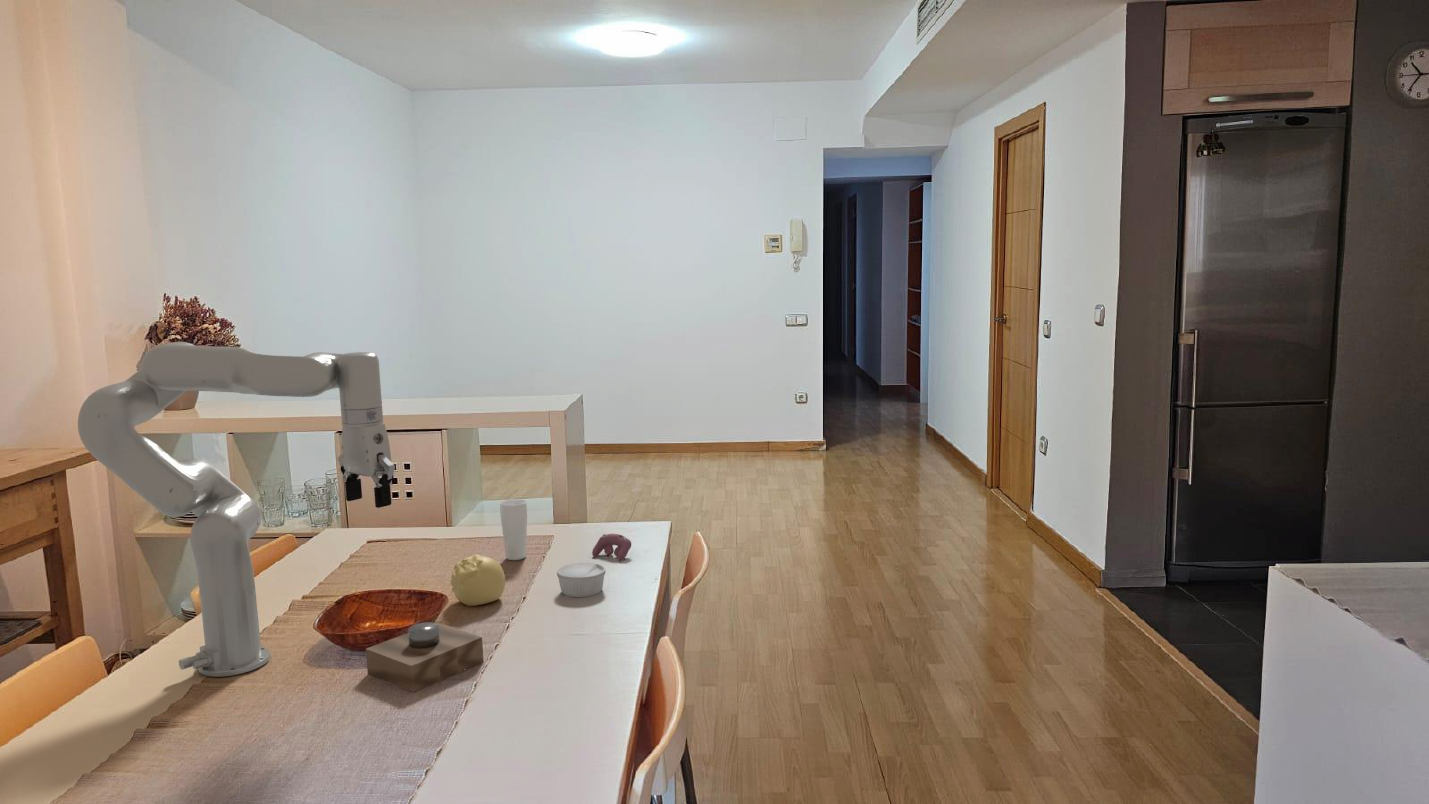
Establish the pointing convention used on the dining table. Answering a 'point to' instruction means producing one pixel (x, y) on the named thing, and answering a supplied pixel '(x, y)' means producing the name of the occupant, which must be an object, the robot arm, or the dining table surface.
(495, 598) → the sculpture
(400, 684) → the walnut block
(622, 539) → the dark red animal figurine
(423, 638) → the steel pin
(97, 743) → the dining table surface
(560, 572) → the ramekin
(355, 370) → the robot arm
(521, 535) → the drinking glass
